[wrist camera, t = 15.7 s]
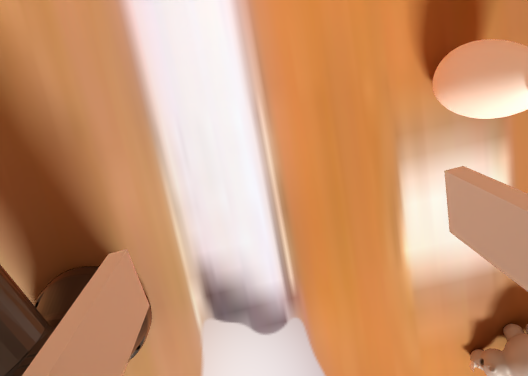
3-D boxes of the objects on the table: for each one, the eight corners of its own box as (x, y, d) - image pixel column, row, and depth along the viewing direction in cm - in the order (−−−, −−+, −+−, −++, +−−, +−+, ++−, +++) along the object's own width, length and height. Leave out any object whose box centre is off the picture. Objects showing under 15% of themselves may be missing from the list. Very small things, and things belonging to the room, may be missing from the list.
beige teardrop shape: (434, 34, 43) (562, 11, 26) (491, 57, 44) (649, 48, 27) (406, 99, 45) (507, 117, 28) (461, 119, 46) (590, 148, 29)
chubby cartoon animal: (457, 324, 60) (467, 369, 52) (545, 313, 54) (569, 361, 47) (470, 356, 62) (481, 403, 54) (555, 348, 56) (580, 400, 49)
